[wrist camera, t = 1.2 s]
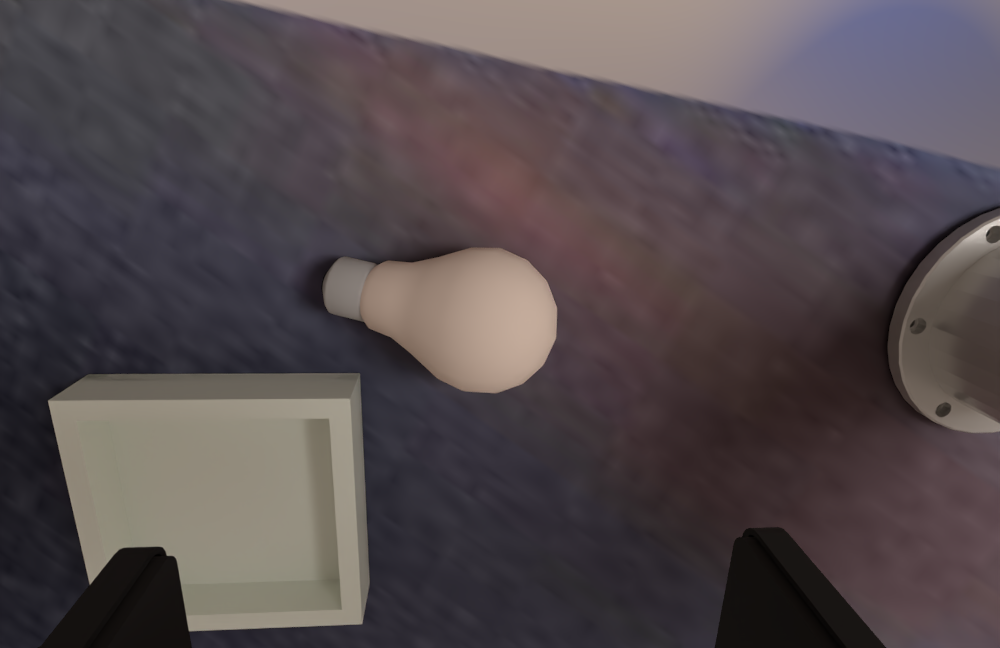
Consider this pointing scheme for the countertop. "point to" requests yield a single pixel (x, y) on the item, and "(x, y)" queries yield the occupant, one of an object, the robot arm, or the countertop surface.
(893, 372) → the robot arm
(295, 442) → the tray
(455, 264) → the light bulb
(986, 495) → the countertop surface
